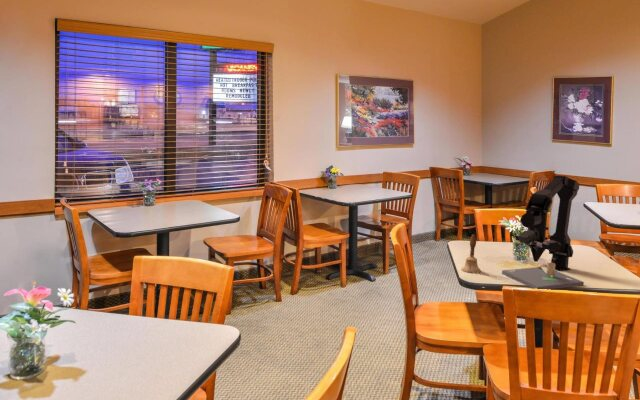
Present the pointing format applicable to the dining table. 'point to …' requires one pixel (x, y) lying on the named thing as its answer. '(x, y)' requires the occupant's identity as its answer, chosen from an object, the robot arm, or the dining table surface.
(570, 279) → the grey flat square slab
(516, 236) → the robot arm
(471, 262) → the hand bell
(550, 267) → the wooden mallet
